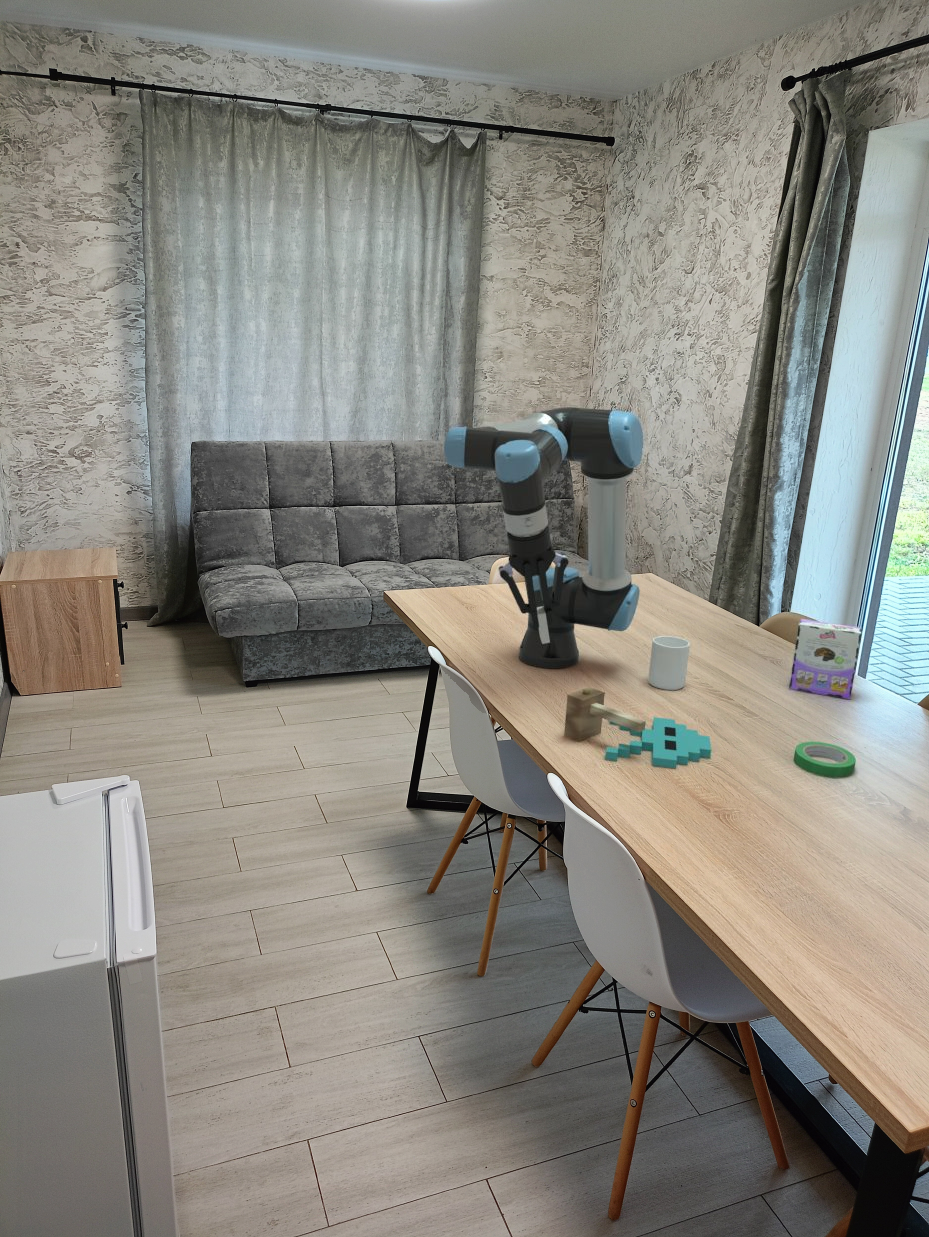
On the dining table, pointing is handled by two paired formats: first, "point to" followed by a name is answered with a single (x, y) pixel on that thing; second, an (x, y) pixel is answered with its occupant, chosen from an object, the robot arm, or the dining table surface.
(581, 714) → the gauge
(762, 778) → the dining table surface
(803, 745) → the tape roll
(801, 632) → the candy box
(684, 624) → the dining table surface
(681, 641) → the mug
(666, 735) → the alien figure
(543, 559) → the robot arm
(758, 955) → the dining table surface
